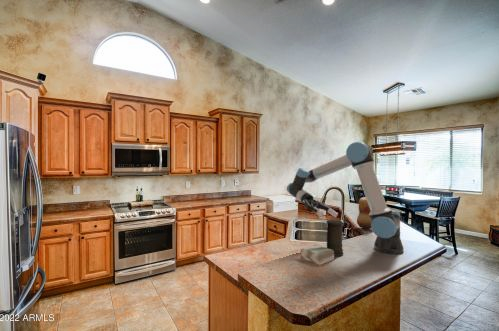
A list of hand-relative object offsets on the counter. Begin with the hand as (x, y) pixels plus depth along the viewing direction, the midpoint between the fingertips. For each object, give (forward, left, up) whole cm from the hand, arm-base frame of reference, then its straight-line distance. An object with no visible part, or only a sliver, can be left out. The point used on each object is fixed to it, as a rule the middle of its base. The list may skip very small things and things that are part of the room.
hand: (329, 215), depth 145 cm
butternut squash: (+13, -69, -21) cm, 73 cm away
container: (-4, +2, -21) cm, 21 cm away
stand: (-3, +16, -20) cm, 26 cm away
